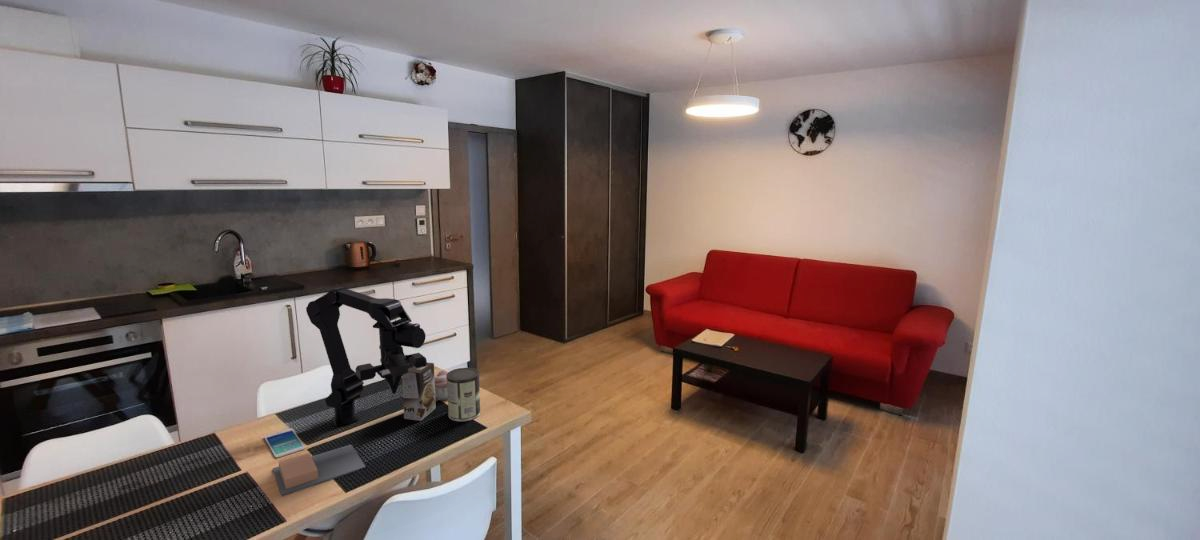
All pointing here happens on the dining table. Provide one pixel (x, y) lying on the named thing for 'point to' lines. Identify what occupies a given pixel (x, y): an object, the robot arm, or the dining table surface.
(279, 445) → the smartphone
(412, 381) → the coffee box
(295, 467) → the block
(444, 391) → the cupcake
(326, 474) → the mat
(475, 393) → the coffee can
